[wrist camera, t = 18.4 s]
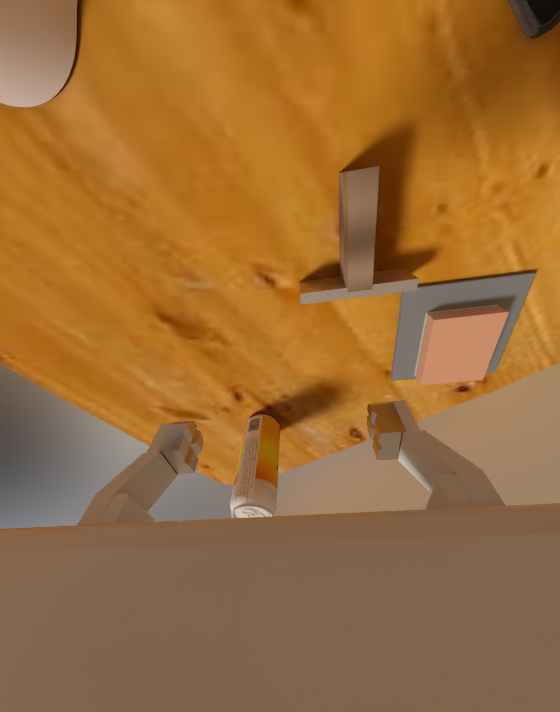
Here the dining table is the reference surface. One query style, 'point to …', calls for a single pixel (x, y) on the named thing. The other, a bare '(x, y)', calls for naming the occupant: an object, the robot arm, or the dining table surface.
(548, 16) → the phone
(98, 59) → the dining table surface
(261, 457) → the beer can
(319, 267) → the dining table surface
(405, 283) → the walnut scraper
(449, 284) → the charcoal mat
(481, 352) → the terracotta tile
